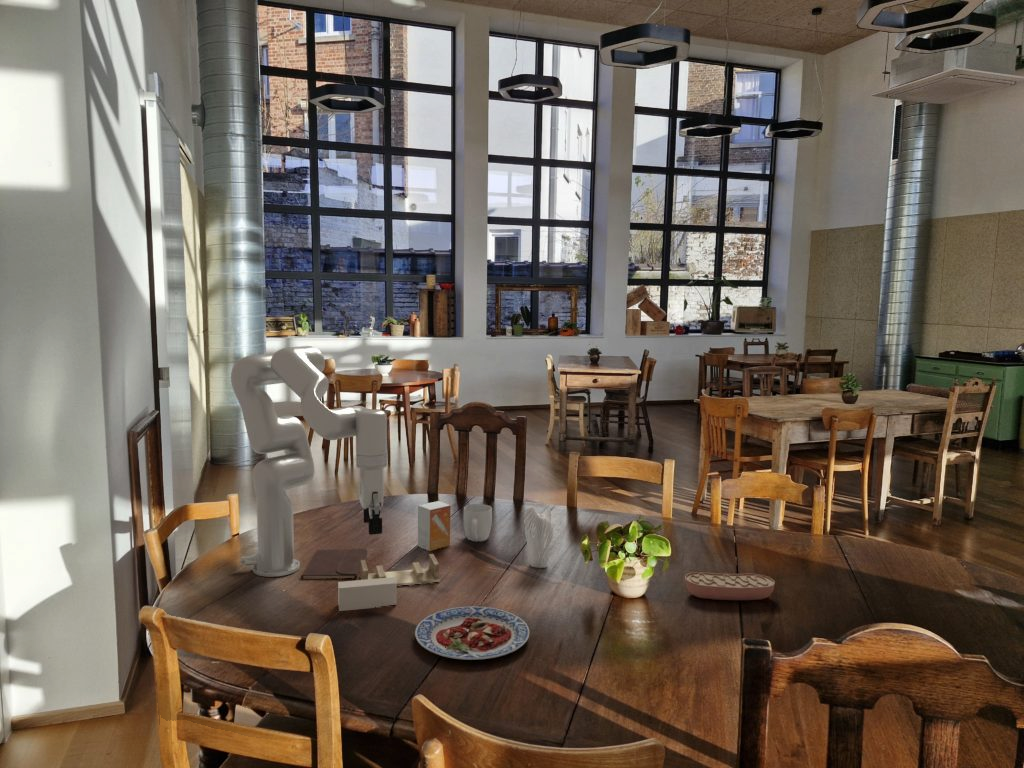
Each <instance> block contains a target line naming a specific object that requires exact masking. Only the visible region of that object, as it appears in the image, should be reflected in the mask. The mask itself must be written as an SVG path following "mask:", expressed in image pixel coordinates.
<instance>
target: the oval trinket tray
mask: <svg viewBox="0 0 1024 768" xmlns="http://www.w3.org/2000/svg"><path fill="white" fill-rule="evenodd" d="M684 581H685V587H686V588H687V590H688V591H689V592H690V593H691V595H693V596H695V597H697V598H699V599H704V600H705V599H708V600H715V601H716V600H717V601H718V600H719V601H757V600H758V601H759V600H764V599H767V598H768V597H770V595H771V594H772V593H773V592H774V590H775V583H776V582H775V580H774V579H773V578H771V577H770V576H767V575H764V574H759V573H715V572H712V573H711V572H701V571H700V572H698V571H697V572H688V573H687V574H686V575H685V577H684Z"/></svg>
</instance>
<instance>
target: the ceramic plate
mask: <svg viewBox="0 0 1024 768" xmlns="http://www.w3.org/2000/svg"><path fill="white" fill-rule="evenodd" d="M414 635H415V639H416V641H417V643H418V644H419V645H420V646H421V647H422V648H424V649H425V650H426V651H429V652H430V653H432V654H435V655H439V656H441V657H445V658H449V659H455V660H465V661H466V660H467V661H469V660H470V661H472V660H473V661H474V660H486V659H494V658H498V657H502V656H506V655H508V654H510V653H513V652H515V651H517V650H518V649H520V648H521V647H523V646H524V645H525V644H526V642H527V641H528V639H529V636H530V628H529V626H528V624H527V623H526V622H525V621H524V620H523V618H521V617H519V616H518V615H515V614H513V613H512V612H509V611H506V610H504V609H503V610H502V609H499V608H494V607H487V606H475V605H474V606H459V607H453V608H452V607H451V608H446V609H443V610H439V611H436V612H435V613H432V614H430V615H428V616H426V617H425V618H424V619H422V620H421V621H420V622H419V623H418V624H417V625H416V628H415V630H414ZM445 647H446V648H445Z"/></svg>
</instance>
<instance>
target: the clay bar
mask: <svg viewBox="0 0 1024 768" xmlns="http://www.w3.org/2000/svg"><path fill="white" fill-rule="evenodd" d="M337 588H338V589H337V590H338V591H337V595H338V596H337V600H338V601H337V603H338V604H337V606H338V611H339V612H343V611H344V612H345V611H354V610H365V609H375V607H376V608H382V607H381V606H387V605H394V604H397V605H398V603H397V602H398V594H397V593H398V592H397V591H398V587H397V582H396V579H395V577H390V578H379V579H367V580H361V579H354V580H346V581H338V582H337ZM387 607H388V606H387Z"/></svg>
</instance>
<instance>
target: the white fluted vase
mask: <svg viewBox="0 0 1024 768" xmlns="http://www.w3.org/2000/svg"><path fill="white" fill-rule="evenodd" d="M524 517H525V518H524V521H523V523H524V525H525V527H524V533H525V540H526V543H527V548H528V549H527V550H528V554H529V559H530V566H531V567H533V568H539V569H541V568H546V567H547V566H548V564H549V557H550V544H551V543H552V541H553V537H554V527H553V523H552V508H551V507H548V508H547V509H546V510H545V511H544V512H542V513H538V512H537V511H536V509H535V507H533V506H532V505H529V506H528V508H526V510H524Z"/></svg>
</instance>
